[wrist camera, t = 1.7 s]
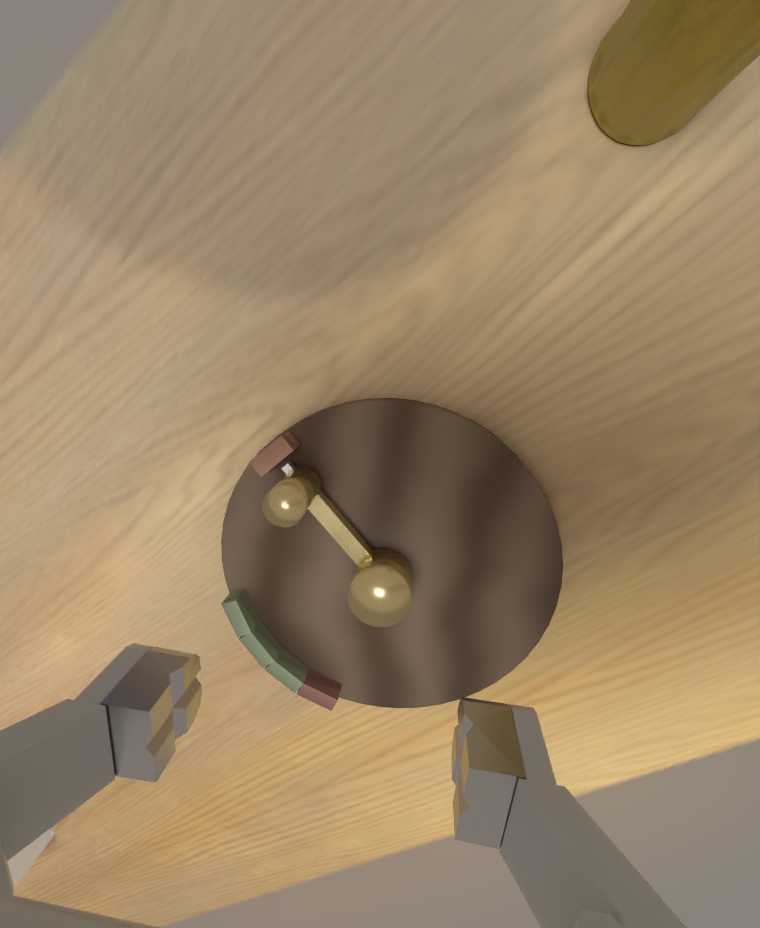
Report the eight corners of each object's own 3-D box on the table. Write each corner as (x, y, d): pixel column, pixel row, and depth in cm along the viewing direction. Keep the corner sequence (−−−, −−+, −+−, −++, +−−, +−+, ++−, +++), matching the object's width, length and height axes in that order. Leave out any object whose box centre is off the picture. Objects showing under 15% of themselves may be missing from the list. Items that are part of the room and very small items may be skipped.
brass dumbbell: (424, 581, 30) (422, 621, 26) (379, 609, 31) (371, 652, 27) (309, 445, 28) (287, 465, 24) (266, 480, 29) (238, 505, 25)
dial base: (578, 404, 27) (598, 414, 24) (532, 702, 34) (543, 742, 31) (219, 392, 30) (192, 399, 27) (245, 672, 37) (227, 705, 34)
